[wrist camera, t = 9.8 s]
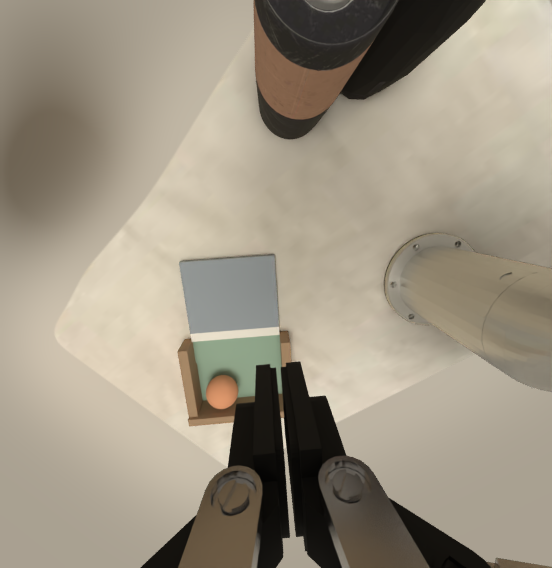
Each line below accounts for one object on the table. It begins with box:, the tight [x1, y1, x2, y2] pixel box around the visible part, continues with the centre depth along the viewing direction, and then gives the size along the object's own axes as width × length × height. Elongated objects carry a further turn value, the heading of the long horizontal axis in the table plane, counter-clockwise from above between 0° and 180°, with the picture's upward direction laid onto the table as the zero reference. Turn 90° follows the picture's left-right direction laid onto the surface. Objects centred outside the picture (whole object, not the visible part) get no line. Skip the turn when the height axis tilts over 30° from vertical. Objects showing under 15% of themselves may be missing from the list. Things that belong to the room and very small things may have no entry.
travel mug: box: [254, 0, 399, 139], centre depth 22 cm, size 8×8×20 cm
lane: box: [178, 254, 291, 426], centre depth 37 cm, size 14×22×4 cm, turn 4°
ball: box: [206, 375, 238, 409], centre depth 39 cm, size 4×4×4 cm
